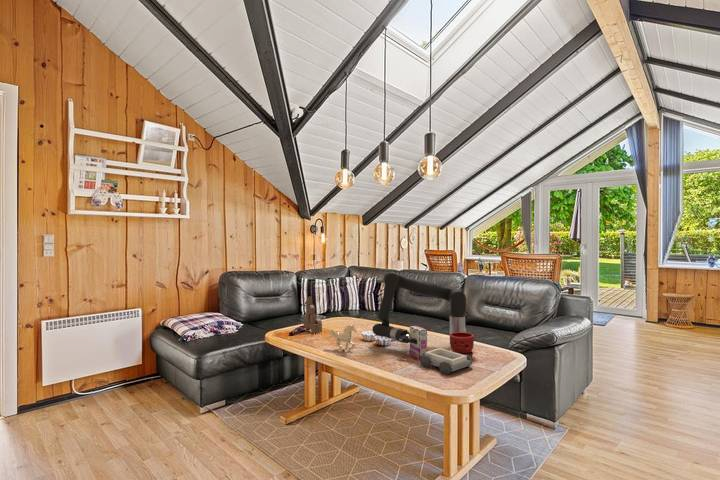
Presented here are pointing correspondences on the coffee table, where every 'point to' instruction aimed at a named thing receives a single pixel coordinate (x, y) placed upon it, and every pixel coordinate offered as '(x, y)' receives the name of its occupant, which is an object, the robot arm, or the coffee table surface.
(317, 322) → the wooden toy
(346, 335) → the unicorn
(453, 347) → the plant pot
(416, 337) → the candy bar box
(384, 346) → the coffee table surface
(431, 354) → the toy car chassis
